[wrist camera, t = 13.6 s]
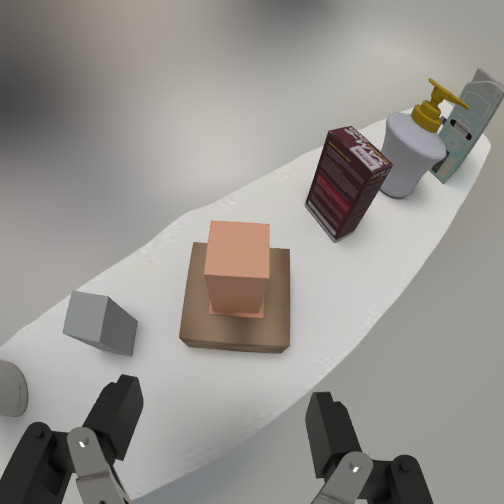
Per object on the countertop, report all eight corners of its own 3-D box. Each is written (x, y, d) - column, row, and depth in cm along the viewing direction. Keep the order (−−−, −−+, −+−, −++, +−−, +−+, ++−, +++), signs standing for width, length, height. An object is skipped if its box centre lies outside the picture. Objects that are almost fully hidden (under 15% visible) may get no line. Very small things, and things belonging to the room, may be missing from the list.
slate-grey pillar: (100, 349, 32) (62, 333, 23) (106, 315, 34) (72, 290, 26) (132, 356, 32) (99, 342, 23) (137, 321, 34) (108, 296, 26)
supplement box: (354, 232, 44) (396, 165, 30) (333, 243, 42) (373, 174, 28) (324, 195, 47) (351, 124, 33) (302, 204, 46) (326, 129, 32)
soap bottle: (403, 218, 46) (472, 119, 24) (352, 179, 50) (398, 69, 28) (421, 187, 51) (475, 102, 29) (376, 153, 55) (416, 62, 33)
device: (441, 147, 61) (484, 69, 34) (460, 165, 58) (508, 89, 32) (421, 163, 55) (473, 66, 29) (443, 184, 53) (503, 91, 26)
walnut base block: (187, 346, 33) (178, 337, 28) (198, 263, 39) (193, 241, 34) (280, 353, 34) (289, 345, 28) (282, 269, 40) (289, 248, 34)
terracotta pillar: (213, 311, 30) (203, 274, 21) (216, 269, 32) (211, 220, 23) (258, 313, 30) (269, 278, 21) (259, 272, 32) (269, 224, 24)
